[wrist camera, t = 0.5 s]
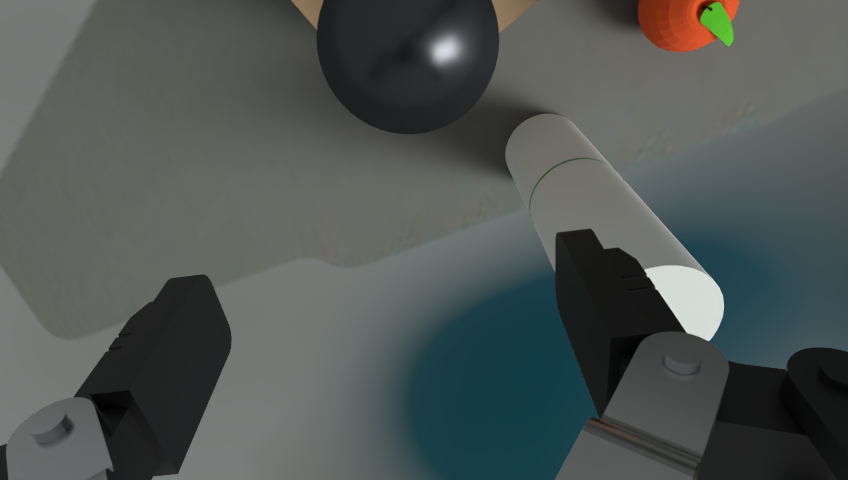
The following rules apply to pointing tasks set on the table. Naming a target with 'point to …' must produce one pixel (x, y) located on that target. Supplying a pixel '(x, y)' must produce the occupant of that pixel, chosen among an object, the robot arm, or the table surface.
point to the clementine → (686, 22)
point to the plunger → (408, 59)
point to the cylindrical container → (605, 215)
